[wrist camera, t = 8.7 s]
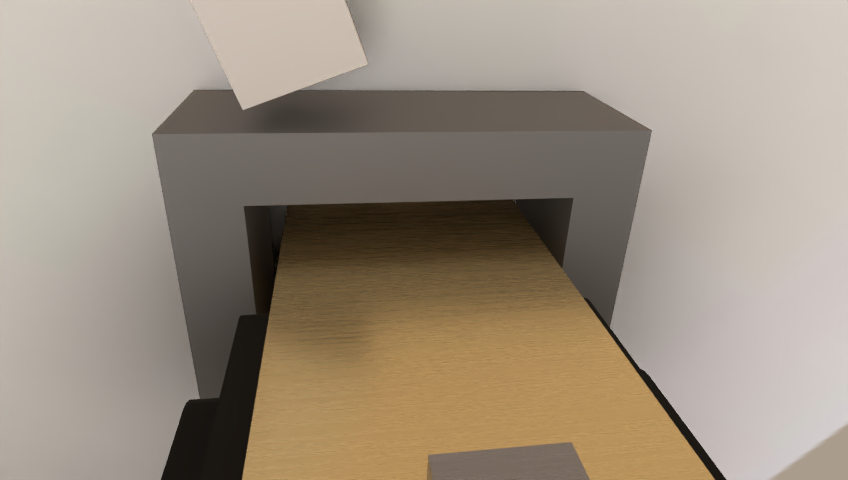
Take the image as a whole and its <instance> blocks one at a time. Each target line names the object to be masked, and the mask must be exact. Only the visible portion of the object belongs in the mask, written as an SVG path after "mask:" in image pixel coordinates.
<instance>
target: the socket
mask: <svg viewBox="0 0 848 480" xmlns="http://www.w3.org/2000/svg"><path fill="white" fill-rule="evenodd" d="M189 1H190V3H191V5H192V7H193V9H194V11H195V13H196V15H197V17H198V19H199V21H200V23H201V25H202V27H203V29H204V31H205V33H206V36H207V38H208V40H209V42H210V44H211V46H212V48H213V50H214V52H215V54H216V56H217V58H218V60H219V62H220V64H221V66H222V68H223V70H224V73H225V75H226V77H227V79H228V81H229V83H230V85H231V87H232V89H233V90H194V91H193V92H192V93H191V94H190V95H189V96H188V97H187V98H186V99H185V100H184V101H183V102H182V103H181V104H180V105H179V107H178V108H177V109H176V110H175V111H174V112H173V113H172V114H171V115H170V116H169V117H168V118H167V119H166V120H165V121H164V122H163V123H162V124H161V125H160V126H159V127H158V128H157V130H156V131H155V132H154V133H153V134H152V137H153V142H154V148H155V153H156V159H157V164H158V170H159V175H160V181H161V186H162V192H163V197H164V203H165V208H166V214H167V219H168V225H169V230H170V236H171V241H172V247H173V252H174V258H175V263H176V269H177V274H178V280H179V285H180V291H181V296H182V302H183V308H184V313H185V319H186V324H187V330H188V335H189V341H190V346H191V352H192V357H193V363H194V368H195V374H196V379H197V385H198V390H199V396H200V399H209V398H219V397H220V393H221V389H222V385H223V381H224V377H225V373H226V369H227V365H228V360H229V356H230V352H231V348H232V344H233V340H234V336H235V332H236V328H237V324H238V320H239V317H240V316H241V315H255V314H270V308H271V302H272V296H273V290H274V284H275V272H274V261H273V250H272V240H271V229H270V219H269V208H268V205H306V204H347V203H387V202H428V201H468V200H508V199H517V205H516V206H517V207H518V209H519V210H520V211H521V213H522V214H523V215H524V217H525V218H526V220H527V221H528V222H529V224H530V225H531V226H532V228H533V229H534V231H535V232H536V233H537V235H538V236H539V238H540V239H541V240H542V242H543V243H544V244H545V246H546V247H547V249H548V250H549V251H550V253H551V254H552V255H553V257H554V258H555V260H556V261H557V262H558V264H559V265H560V267H561V268H562V269H563V271H564V272H565V273H566V275H567V276H568V278H569V279H570V280H571V282H572V283H573V284H574V286H575V287H576V289H577V290H578V291H579V293H580V294H581V296H582V297H583V298H588V299H589V300H590V301H591V303H592V304H593V305H594V307H595V308H596V310H597V311H598V312H599V314H600V315H601V316H602V318H603V319H604V320H605V322H606V323H607V325H608V326H609V327H610V323H611V318H612V314H613V309H614V304H615V300H616V295H617V290H618V286H619V281H620V276H621V272H622V267H623V262H624V258H625V253H626V248H627V244H628V239H629V235H630V230H631V225H632V221H633V216H634V211H635V207H636V202H637V197H638V193H639V188H640V183H641V179H642V174H643V169H644V165H645V160H646V155H647V151H648V146H649V142H650V137H651V132H652V130H650V129H648V128H647V127H645V126H643V125H641V124H640V123H638V122H636V121H634V120H633V119H631V118H629V117H627V116H626V115H624V114H622V113H620V112H619V111H617V110H615V109H613V108H612V107H610V106H608V105H606V104H605V103H603V102H601V101H599V100H598V99H596V98H594V97H592V96H591V95H589V94H587V93H585V92H584V91H296V90H299V89H302V88H305V87H307V86H310V85H313V84H316V83H318V82H321V81H324V80H326V79H329V78H332V77H335V76H337V75H340V74H343V73H346V72H348V71H351V70H354V69H357V68H359V67H362V66H365V65H368V62H367V59H366V56H365V53H364V50H363V47H362V44H361V41H360V38H359V35H358V33H357V30H356V27H355V24H354V22H353V19H352V16H351V13H350V10H349V8H348V5H347V2H346V0H189Z"/></svg>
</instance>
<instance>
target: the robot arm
mask: <svg viewBox="0 0 848 480" xmlns="http://www.w3.org/2000/svg"><path fill="white" fill-rule="evenodd" d="M584 300H585V301H586V302H587V304H588V305H589V307H590V308H591V309H592V311H593V312H594V313H595V315H596V316H597V318H598V319H599V320H600V322H601V323H602V324H603V326H604V327H605V329H606V330H607V331H608V333H609V334H610V336H611V337H612V338H613V340H614V341H615V342H616V344H617V345H618V347H619V348H620V349H621V351H622V352H623V353H624V355H625V356H626V358H627V359H628V360H629V362H630V363H631V365H632V366H633V367H634V369H635V370H636V371H637V373H638V374H639V376H640V377H641V378H642V380H643V381H644V382H645V384H646V385H647V387H648V388H649V389H650V391H651V392H652V393H653V395H654V396H655V398H656V399H657V400H658V402H659V403H660V405H661V406H662V407H663V409H664V410H665V411H666V413H667V414H668V416H669V417H670V418H671V420H672V421H673V422H674V424H675V425H676V427H677V428H678V429H679V431H680V432H681V434H682V435H683V436H684V438H685V439H686V440H687V442H688V443H689V445H690V446H691V447H692V449H693V450H694V451H695V453H696V454H697V456H698V457H699V458H700V460H701V461H702V462H703V464H704V465H705V467H706V468H707V469H708V471H709V472H710V474H711V475H712V476H713V478H714V479H715V480H726V479H725V477H724V476H723V475H722V473H721V472H720V471H719V469H718V468H717V467H716V465H715V464H714V462H713V461H712V460H711V458H710V457H709V456H708V454H707V453H706V452H705V450H704V449H703V448H702V446H701V445H700V444H699V442H698V441H697V440H696V438H695V437H694V436H693V434H692V433H691V432H690V430H689V429H688V427H687V426H686V425H685V423H684V422H683V421H682V419H681V418H680V417H679V415H678V414H677V413H676V411H675V410H674V409H673V407H672V406H671V405H670V403H669V402H668V401H667V399H666V398H665V397H664V395H663V394H662V393H661V391H660V390H659V388H658V387H657V386H656V384H655V383H654V382H653V380H652V379H651V378H650V376H649V375H648V374H647V373H646V372H645V371H643V370H641V369H640V368H639V367H638V365H637V364H636V363H635V361H634V360H633V359H632V357H631V356H630V355H629V353H628V352H627V350H626V349H625V348H624V346H623V345H622V344H621V342H620V341H619V340H618V338H617V337H616V335H615V334H614V333H613V331H612V330H611V329H610V327H609V326H608V325H607V323H606V322H605V320H604V319H603V318H602V316H601V315H600V314H599V312H598V311H597V310H596V308H595V307H594V305H593V304H592V303H591V301H590V300H589V299H588V298H584ZM268 320H269V314H255V315H241V316H240V317H239V320H238V324H237V328H236V332H235V336H234V340H233V344H232V348H231V352H230V356H229V360H228V365H227V369H226V373H225V377H224V381H223V385H222V389H221V393H220V397H219V398H209V399H194V400H189V401H188V402H187V403H186V405H185V407H184V409H183V412H182V415H181V418H180V421H179V425H178V428H177V431H176V434H175V437H174V440H173V444H172V447H171V450H170V453H169V456H168V459H167V462H166V466H165V469H164V472H163V475H162V478H161V480H242V476H243V470H244V464H245V458H246V452H247V446H248V440H249V434H250V428H251V422H252V416H253V410H254V404H255V398H256V392H257V386H258V380H259V374H260V368H261V362H262V356H263V350H264V344H265V338H266V332H267V326H268Z"/></svg>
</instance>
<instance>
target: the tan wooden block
mask: <svg viewBox="0 0 848 480" xmlns="http://www.w3.org/2000/svg"><path fill="white" fill-rule="evenodd" d="M242 480H715V479H714V478H713V476H712V475H711V474H710V472H709V471H708V469H707V468H706V467H705V465H704V464H703V462H702V461H701V460H700V458H699V457H698V456H697V454H696V453H695V451H694V450H693V449H692V447H691V446H690V445H689V443H688V442H687V440H686V439H685V438H684V436H683V435H682V434H681V432H680V431H679V429H678V428H677V427H676V425H675V424H674V422H673V421H672V420H671V418H670V417H669V416H668V414H667V413H666V411H665V410H664V409H663V407H662V406H661V405H660V403H659V402H658V400H657V399H656V398H655V396H654V395H653V393H652V392H651V391H650V389H649V388H648V387H647V385H646V384H645V382H644V381H643V380H642V378H641V377H640V376H639V374H638V373H637V371H636V370H635V369H634V367H633V366H632V365H631V363H630V362H629V360H628V359H627V358H626V356H625V355H624V353H623V352H622V351H621V349H620V348H619V347H618V345H617V344H616V342H615V341H614V340H613V338H612V337H611V336H610V334H609V333H608V331H607V330H606V329H605V327H604V326H603V324H602V323H601V322H600V320H599V319H598V318H597V316H596V315H595V313H594V312H593V311H592V309H591V308H590V307H589V305H588V304H587V302H586V301H585V300H584V298H583V297H582V296H581V294H580V293H579V291H578V290H577V289H576V287H575V286H574V284H573V283H572V282H571V280H570V279H569V278H568V276H567V275H566V273H565V272H564V271H563V269H562V268H561V267H560V265H559V264H558V262H557V261H556V260H555V258H554V257H553V255H552V254H551V253H550V251H549V250H548V249H547V247H546V246H545V244H544V243H543V242H542V240H541V239H540V238H539V236H538V235H537V233H536V232H535V231H534V229H533V228H532V226H531V225H530V224H529V222H528V221H527V220H526V218H525V217H524V215H523V214H522V213H521V211H520V210H519V209H518V207H517V206H516V204H515V203H514V202H513V200H512V199H508V200H468V201H428V202H387V203H347V204H306V205H288V206H287V212H286V218H285V224H284V230H283V236H282V242H281V248H280V254H279V260H278V266H277V272H276V278H275V284H274V290H273V296H272V302H271V308H270V314H269V320H268V326H267V332H266V338H265V344H264V350H263V356H262V362H261V368H260V374H259V380H258V386H257V392H256V398H255V404H254V410H253V416H252V422H251V428H250V434H249V440H248V446H247V452H246V458H245V464H244V470H243V476H242Z"/></svg>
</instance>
